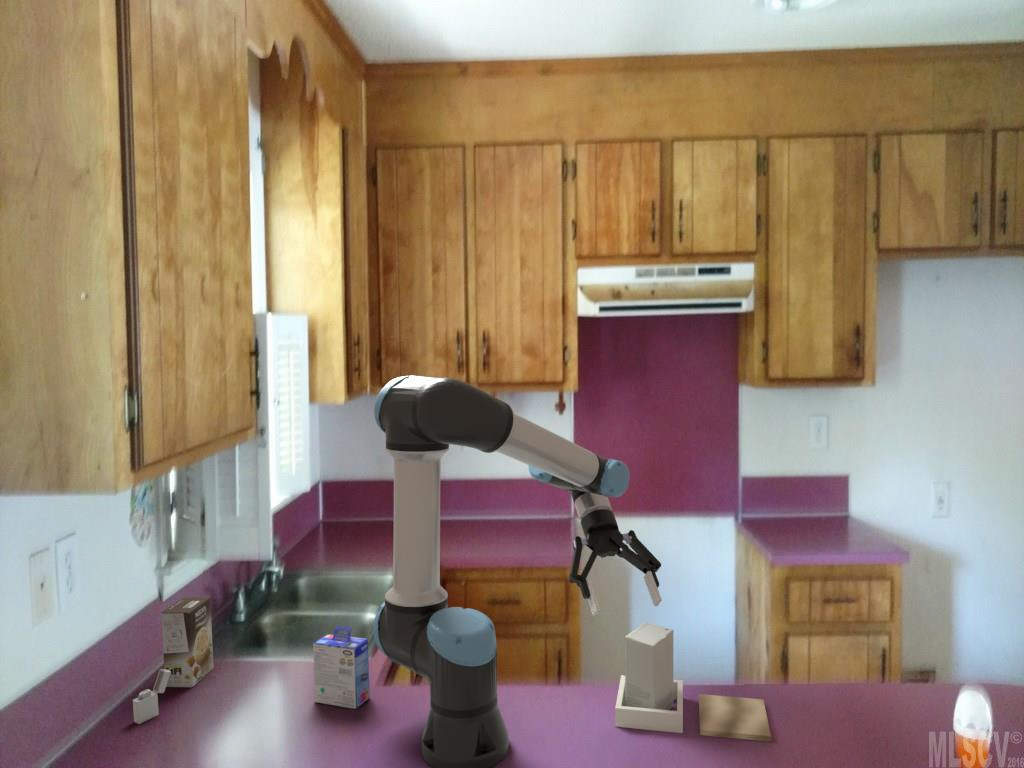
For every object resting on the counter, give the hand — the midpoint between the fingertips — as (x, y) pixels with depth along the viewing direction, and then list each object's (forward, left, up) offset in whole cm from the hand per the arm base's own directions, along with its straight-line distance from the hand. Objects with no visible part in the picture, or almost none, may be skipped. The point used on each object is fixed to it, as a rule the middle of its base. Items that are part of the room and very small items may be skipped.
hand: (627, 608), depth 149 cm
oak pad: (+20, -9, -16) cm, 27 cm away
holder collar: (+5, -9, -16) cm, 19 cm away
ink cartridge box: (-55, -15, -17) cm, 60 cm away
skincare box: (+5, -9, -17) cm, 19 cm away
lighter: (-89, -27, -17) cm, 95 cm away
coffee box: (-92, -12, -17) cm, 95 cm away
